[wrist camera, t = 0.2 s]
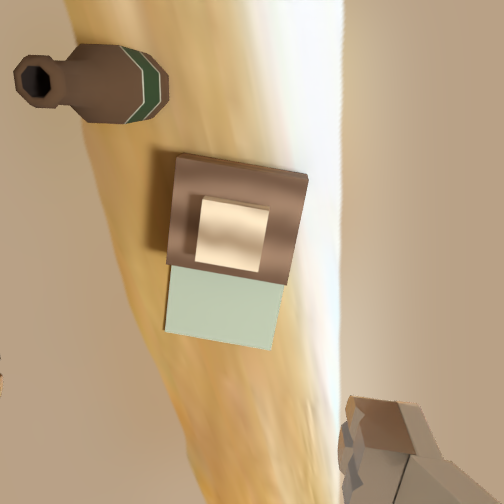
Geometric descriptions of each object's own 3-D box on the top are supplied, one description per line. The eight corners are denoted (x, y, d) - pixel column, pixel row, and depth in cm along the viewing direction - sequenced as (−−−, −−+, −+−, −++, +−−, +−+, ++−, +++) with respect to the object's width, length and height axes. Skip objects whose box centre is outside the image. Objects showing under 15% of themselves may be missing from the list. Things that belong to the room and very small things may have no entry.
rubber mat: (173, 256, 60) (172, 257, 59) (285, 276, 60) (285, 277, 59) (165, 330, 64) (164, 331, 64) (270, 349, 64) (270, 350, 64)
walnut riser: (183, 152, 55) (176, 157, 51) (307, 174, 55) (308, 180, 51) (173, 253, 60) (166, 264, 56) (286, 273, 60) (286, 285, 56)
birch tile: (205, 195, 52) (202, 199, 50) (269, 206, 52) (269, 210, 50) (197, 255, 55) (194, 261, 53) (258, 266, 55) (258, 272, 53)
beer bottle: (182, 69, 51) (103, 51, 29) (159, 130, 54) (71, 157, 32) (121, 40, 51) (-8, -3, 28) (102, 103, 53) (-30, 110, 31)
